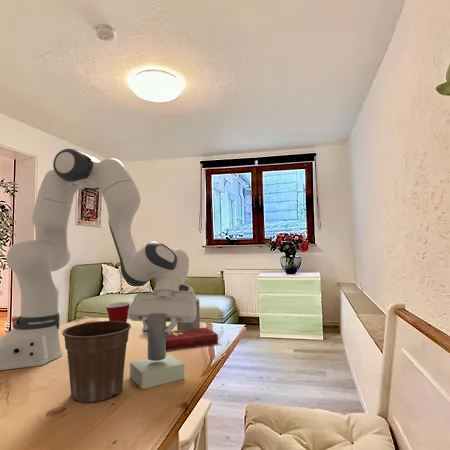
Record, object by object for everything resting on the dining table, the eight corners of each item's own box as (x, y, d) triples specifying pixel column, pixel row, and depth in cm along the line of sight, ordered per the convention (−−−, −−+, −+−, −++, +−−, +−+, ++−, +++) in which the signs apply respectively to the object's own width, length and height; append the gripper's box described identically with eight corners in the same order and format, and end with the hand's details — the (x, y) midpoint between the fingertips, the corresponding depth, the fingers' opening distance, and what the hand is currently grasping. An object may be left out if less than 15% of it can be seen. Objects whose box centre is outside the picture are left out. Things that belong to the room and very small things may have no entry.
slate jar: (151, 362, 90) (151, 316, 91) (145, 357, 94) (145, 313, 95) (168, 358, 93) (168, 314, 94) (161, 353, 97) (161, 311, 98)
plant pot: (58, 414, 73) (60, 339, 74) (62, 386, 88) (63, 324, 89) (134, 400, 80) (135, 331, 81) (125, 376, 95) (126, 318, 96)
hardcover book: (218, 344, 126) (218, 333, 126) (163, 352, 118) (163, 339, 118) (207, 337, 137) (207, 326, 137) (156, 343, 129) (156, 332, 129)
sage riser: (142, 389, 86) (142, 373, 86) (129, 376, 94) (130, 362, 94) (184, 378, 92) (184, 363, 93) (169, 368, 101) (169, 354, 101)
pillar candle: (180, 328, 150) (180, 294, 151) (202, 329, 149) (201, 295, 149) (174, 334, 140) (174, 298, 141) (197, 335, 139) (196, 298, 140)
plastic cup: (107, 328, 151) (108, 301, 152) (132, 327, 152) (132, 301, 153) (101, 334, 140) (102, 305, 141) (128, 333, 142) (128, 305, 142)
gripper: (133, 286, 103) (117, 325, 93) (197, 287, 100) (188, 328, 90) (139, 298, 107) (124, 337, 97) (201, 300, 104) (193, 340, 94)
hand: (156, 333), depth 93 cm, fingers closed on slate jar, 5 cm apart
